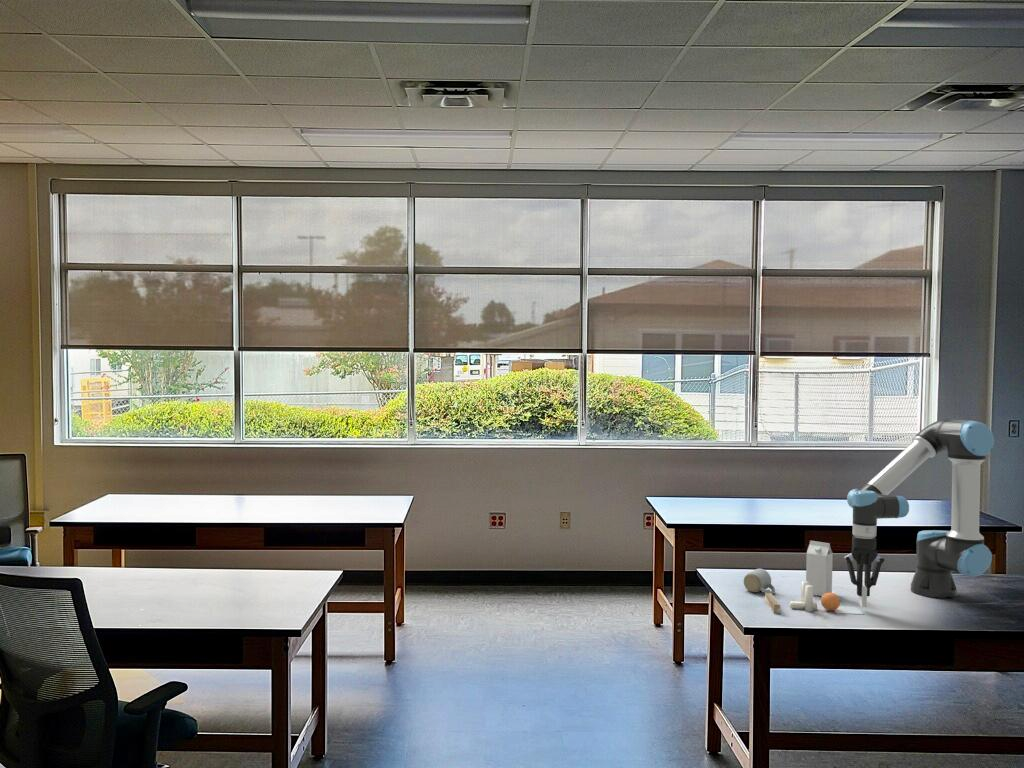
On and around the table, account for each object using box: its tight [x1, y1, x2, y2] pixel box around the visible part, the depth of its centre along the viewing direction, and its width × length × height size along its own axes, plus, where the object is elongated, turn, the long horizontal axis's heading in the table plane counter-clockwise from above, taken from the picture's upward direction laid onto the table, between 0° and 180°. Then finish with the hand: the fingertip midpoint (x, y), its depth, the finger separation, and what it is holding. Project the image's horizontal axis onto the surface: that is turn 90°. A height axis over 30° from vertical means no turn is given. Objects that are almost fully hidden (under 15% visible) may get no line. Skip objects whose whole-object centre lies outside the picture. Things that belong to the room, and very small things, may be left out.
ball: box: [820, 592, 841, 612], centre depth 270 cm, size 6×6×6 cm
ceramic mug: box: [743, 568, 776, 595], centre depth 292 cm, size 11×8×8 cm
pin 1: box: [800, 580, 809, 602], centre depth 274 cm, size 2×2×8 cm
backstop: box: [764, 593, 781, 615], centre depth 272 cm, size 2×14×3 cm, turn 174°
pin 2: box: [804, 585, 814, 613], centre depth 269 cm, size 2×2×8 cm
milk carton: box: [805, 540, 834, 597], centre depth 290 cm, size 7×7×19 cm
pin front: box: [789, 600, 818, 610], centre depth 271 cm, size 2×2×8 cm
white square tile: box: [833, 605, 864, 615], centre depth 270 cm, size 9×8×1 cm
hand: (863, 605), depth 269 cm, fingers closed
